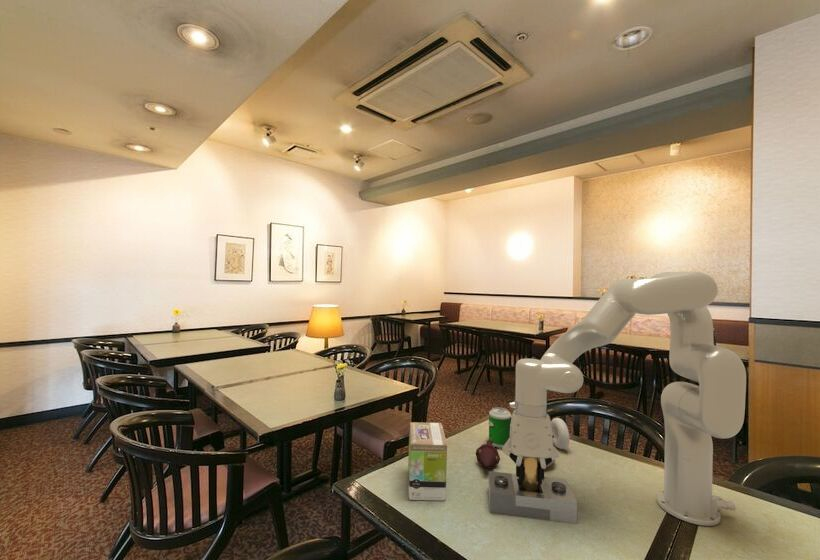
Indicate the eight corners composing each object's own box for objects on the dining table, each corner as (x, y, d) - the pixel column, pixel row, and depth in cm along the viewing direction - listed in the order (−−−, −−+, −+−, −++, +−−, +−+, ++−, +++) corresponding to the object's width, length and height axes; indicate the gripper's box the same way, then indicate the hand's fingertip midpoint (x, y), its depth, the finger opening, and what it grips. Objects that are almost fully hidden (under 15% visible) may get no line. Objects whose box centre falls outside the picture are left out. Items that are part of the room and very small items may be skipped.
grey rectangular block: (566, 498, 94) (566, 476, 94) (576, 523, 84) (577, 499, 84) (488, 489, 97) (488, 468, 97) (490, 512, 87) (490, 489, 87)
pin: (539, 500, 88) (539, 451, 88) (522, 498, 89) (523, 450, 89) (536, 491, 92) (537, 444, 92) (520, 489, 93) (521, 443, 93)
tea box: (447, 501, 92) (447, 444, 92) (408, 501, 92) (408, 443, 92) (441, 470, 107) (442, 421, 107) (408, 470, 107) (408, 420, 107)
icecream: (502, 459, 101) (502, 440, 116) (477, 448, 103) (480, 432, 118) (495, 482, 101) (497, 461, 116) (470, 472, 103) (474, 452, 118)
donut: (547, 441, 127) (548, 413, 127) (557, 441, 128) (557, 413, 128) (561, 455, 117) (561, 424, 117) (571, 454, 118) (571, 424, 118)
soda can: (513, 443, 125) (514, 409, 125) (507, 452, 119) (507, 416, 119) (492, 438, 129) (493, 405, 129) (485, 446, 123) (486, 411, 123)
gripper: (497, 411, 88) (497, 485, 88) (569, 416, 85) (568, 493, 85) (496, 401, 96) (495, 469, 96) (561, 405, 93) (561, 476, 93)
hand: (529, 479), depth 91 cm, fingers closed on pin, 4 cm apart
